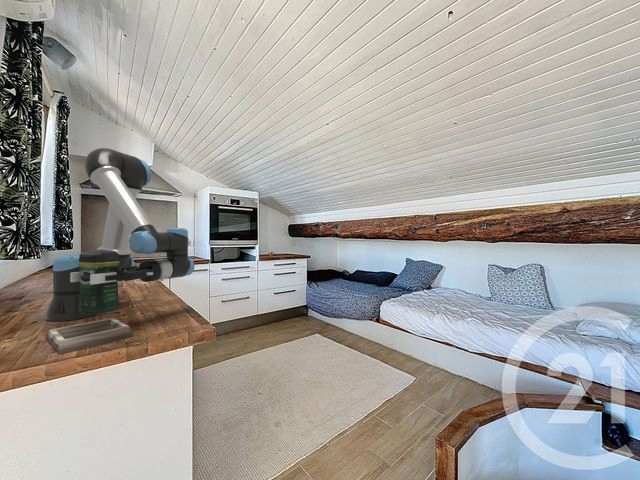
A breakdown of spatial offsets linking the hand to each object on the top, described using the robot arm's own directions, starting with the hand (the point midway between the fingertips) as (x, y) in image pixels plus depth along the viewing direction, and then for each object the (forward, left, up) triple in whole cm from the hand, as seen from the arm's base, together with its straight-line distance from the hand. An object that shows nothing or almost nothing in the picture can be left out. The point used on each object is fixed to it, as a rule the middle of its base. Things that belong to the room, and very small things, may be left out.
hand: (81, 278), depth 77 cm
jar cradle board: (-2, +3, -18) cm, 18 cm away
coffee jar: (-1, +5, -11) cm, 12 cm away
